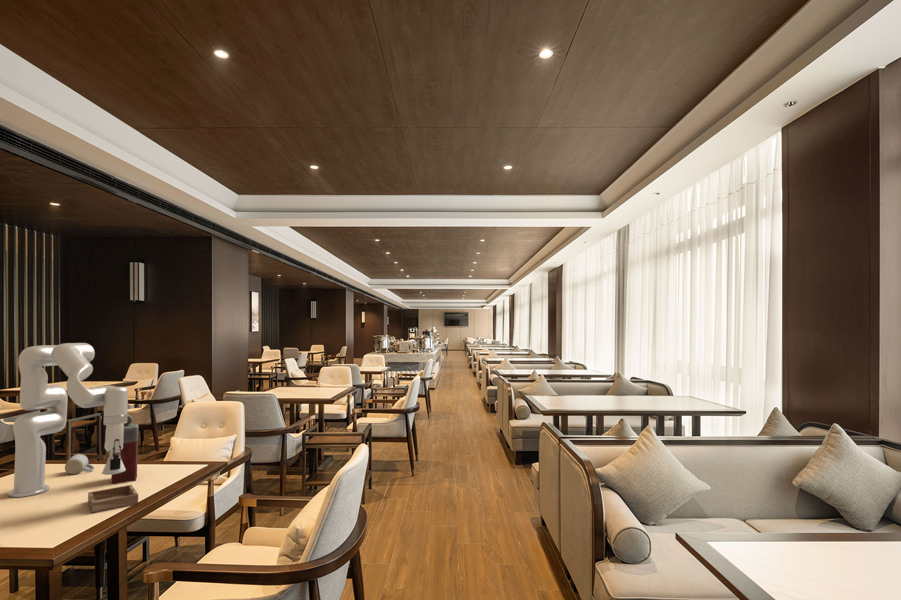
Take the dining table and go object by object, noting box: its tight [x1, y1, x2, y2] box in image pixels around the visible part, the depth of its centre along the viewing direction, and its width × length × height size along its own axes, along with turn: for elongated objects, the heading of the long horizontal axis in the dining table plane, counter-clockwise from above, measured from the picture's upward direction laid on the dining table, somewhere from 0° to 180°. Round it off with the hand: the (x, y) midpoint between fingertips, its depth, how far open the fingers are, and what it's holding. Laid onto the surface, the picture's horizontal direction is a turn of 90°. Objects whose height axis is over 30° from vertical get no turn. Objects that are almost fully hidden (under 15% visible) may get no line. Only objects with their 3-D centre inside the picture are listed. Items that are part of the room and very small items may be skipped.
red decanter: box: [110, 414, 139, 485], centre depth 217 cm, size 9×11×28 cm
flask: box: [101, 449, 126, 476], centre depth 187 cm, size 7×7×10 cm
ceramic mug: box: [64, 453, 95, 475], centre depth 228 cm, size 11×8×8 cm
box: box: [87, 484, 139, 514], centre depth 186 cm, size 16×14×4 cm
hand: (114, 467), depth 187 cm, fingers closed on flask, 5 cm apart
